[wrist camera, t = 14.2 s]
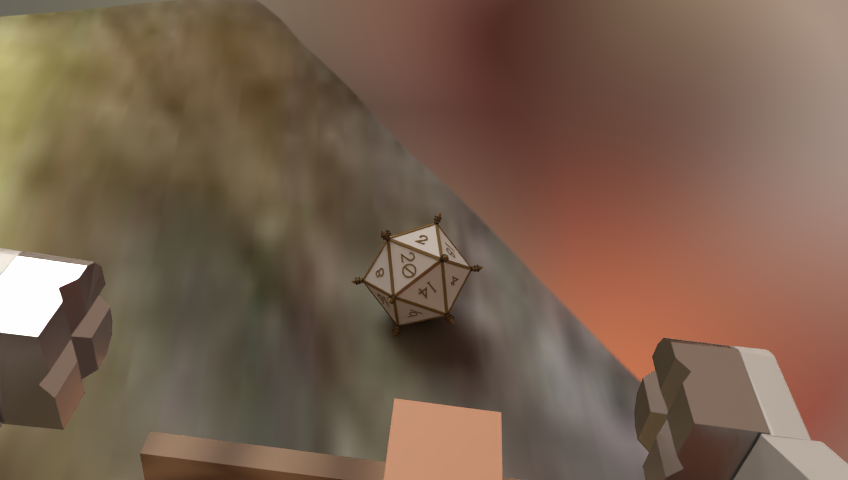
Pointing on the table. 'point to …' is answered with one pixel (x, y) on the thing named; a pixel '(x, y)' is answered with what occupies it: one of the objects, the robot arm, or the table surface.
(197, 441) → the board
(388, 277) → the game die
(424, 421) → the terracotta block
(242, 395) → the table surface
